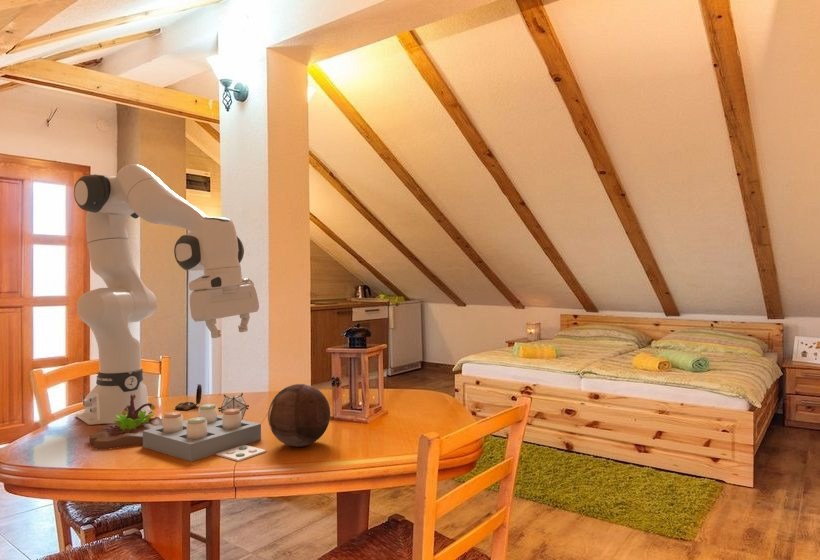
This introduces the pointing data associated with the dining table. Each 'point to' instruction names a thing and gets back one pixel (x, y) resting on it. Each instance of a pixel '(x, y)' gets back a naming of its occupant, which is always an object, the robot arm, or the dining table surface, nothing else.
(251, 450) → the card
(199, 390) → the compass
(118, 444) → the plant
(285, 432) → the wooden sphere
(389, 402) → the dining table surface
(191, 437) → the button
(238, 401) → the wireframe polyhedron
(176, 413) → the button
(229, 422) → the button
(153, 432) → the grey grid tray
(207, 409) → the button
